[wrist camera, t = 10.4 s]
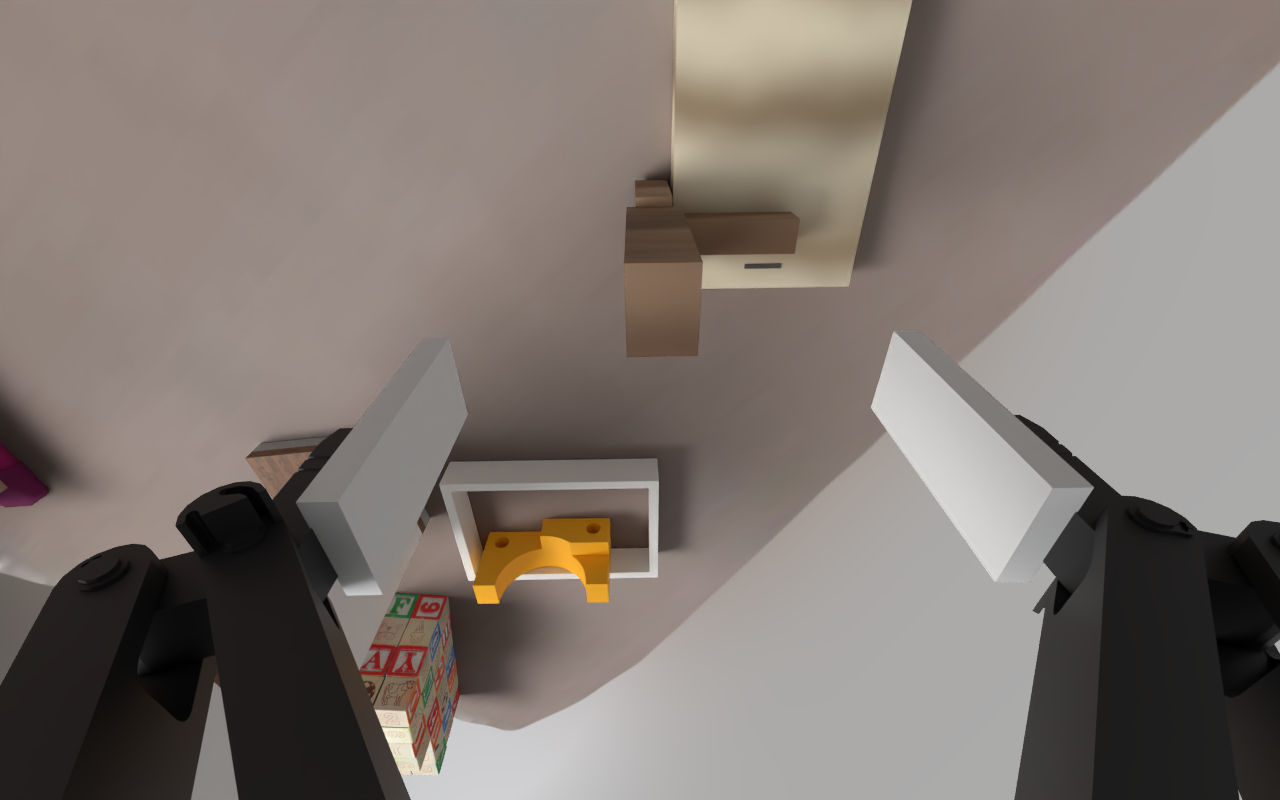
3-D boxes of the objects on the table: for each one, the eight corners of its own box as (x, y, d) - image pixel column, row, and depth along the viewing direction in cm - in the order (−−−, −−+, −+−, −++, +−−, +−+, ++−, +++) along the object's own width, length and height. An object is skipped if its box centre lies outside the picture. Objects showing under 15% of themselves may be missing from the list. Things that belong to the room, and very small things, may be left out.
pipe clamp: (609, 516, 49) (606, 571, 43) (611, 546, 51) (608, 602, 46) (487, 518, 49) (469, 572, 43) (494, 548, 51) (477, 603, 46)
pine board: (677, -172, 24) (682, -198, 22) (928, -175, 24) (957, -201, 22) (668, 276, 36) (671, 289, 33) (835, 274, 36) (849, 286, 33)
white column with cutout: (387, 430, 43) (-159, 1211, 13) (429, 518, 48) (114, 1198, 19) (260, 443, 43) (-537, 1219, 14) (317, 528, 49) (-160, 1205, 19)
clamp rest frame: (450, 461, 45) (439, 484, 42) (657, 458, 45) (658, 480, 42) (476, 556, 51) (468, 580, 49) (656, 552, 51) (657, 577, 49)
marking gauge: (627, 180, 32) (623, 250, 19) (783, 178, 32) (889, 246, 19) (629, 258, 34) (627, 367, 21) (773, 256, 34) (859, 363, 21)
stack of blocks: (461, 694, 66) (430, 808, 56) (413, 692, 66) (372, 806, 56) (448, 594, 55) (405, 713, 45) (390, 590, 54) (333, 710, 44)
